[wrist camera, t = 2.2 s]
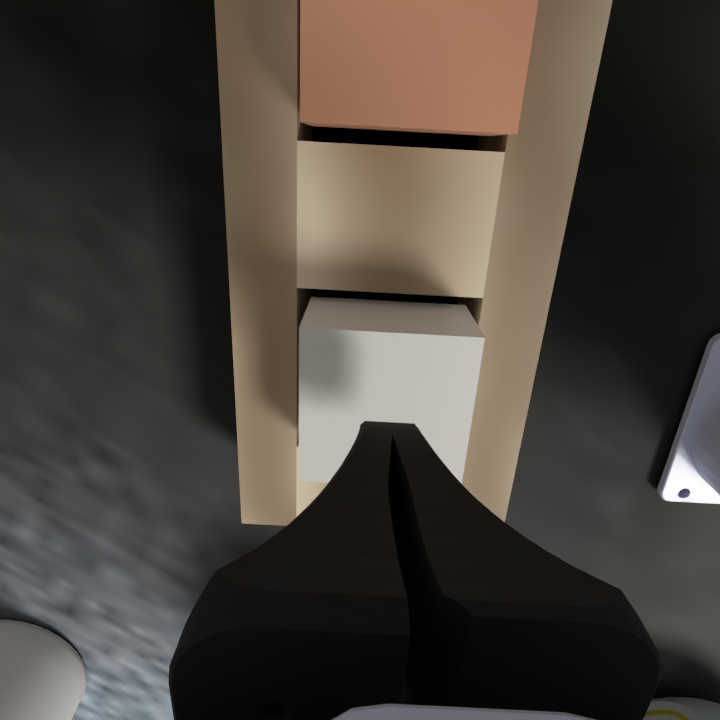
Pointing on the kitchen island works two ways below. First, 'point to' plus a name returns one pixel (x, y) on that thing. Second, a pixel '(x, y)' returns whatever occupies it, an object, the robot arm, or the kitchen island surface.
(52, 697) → the milk bottle
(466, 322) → the grey button
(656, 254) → the kitchen island surface
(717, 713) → the pale green jug
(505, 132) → the terracotta button
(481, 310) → the button panel
